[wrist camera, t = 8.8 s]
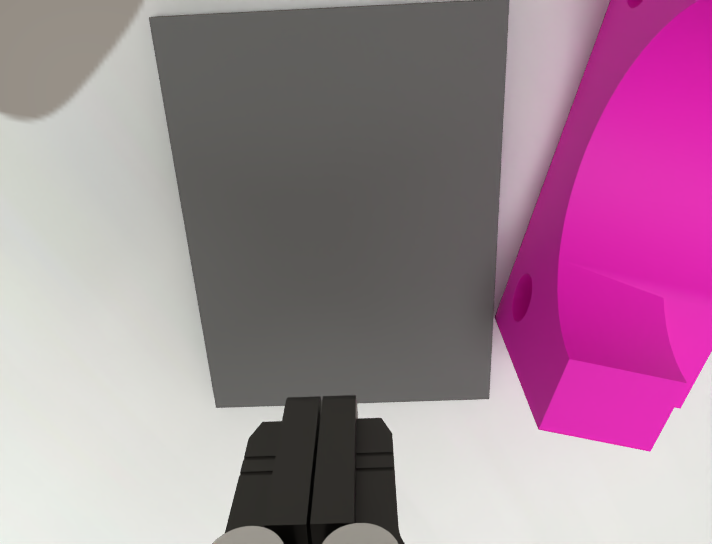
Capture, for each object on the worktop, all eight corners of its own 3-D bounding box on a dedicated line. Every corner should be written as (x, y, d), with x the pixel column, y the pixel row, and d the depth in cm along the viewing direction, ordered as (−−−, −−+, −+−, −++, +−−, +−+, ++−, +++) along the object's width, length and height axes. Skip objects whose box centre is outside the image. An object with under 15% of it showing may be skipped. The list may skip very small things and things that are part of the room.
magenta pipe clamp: (632, 344, 27) (722, 465, 20) (493, 315, 26) (538, 429, 20) (814, -33, 21) (1032, -42, 14) (637, -81, 20) (775, -114, 13)
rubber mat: (154, 16, 21) (148, 17, 21) (505, -1, 21) (509, -2, 21) (219, 399, 28) (216, 407, 28) (486, 390, 28) (489, 398, 27)
